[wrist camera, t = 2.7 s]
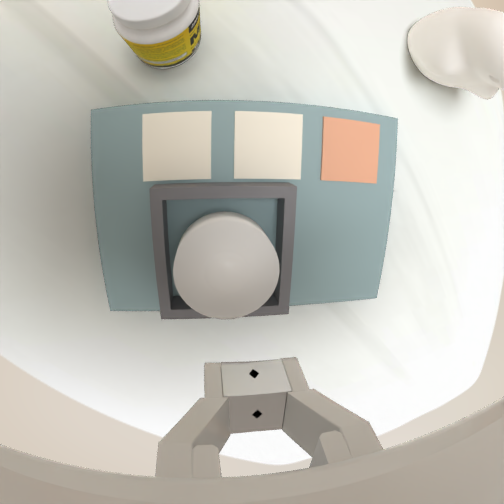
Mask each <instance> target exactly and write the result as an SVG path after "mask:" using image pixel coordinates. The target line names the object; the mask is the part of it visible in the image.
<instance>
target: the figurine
mask: <svg viewBox="0 0 504 504" xmlns="http://www.w3.org/2000/svg"><path fill="white" fill-rule="evenodd" d="M407 44H408V49H409V53H410V56H411V58H412V60H413V62H414V64H415V65H416V67H417V68H418V69H419V70H420V72H421V73H422V74H423V75H424V76H426V77H427V78H428V79H430V80H432V81H434V82H436V83H438V84H441V85H444V86H448V87H454V88H461V89H464V90H467V91H469V92H471V93H473V94H475V95H477V96H478V97H480V98H483V99H487V100H488V99H491V98H492V97H494V95H495V94H496V93H497V91H498V90H499V88H500V89H502V90H504V12H501V11H498V10H493V9H488V8H467V7H452V8H446V9H442V10H439V11H436V12H434V13H431V14H429V15H427V16H425V17H423V18H422V19H420V20H419V21H418V22H416V23H415V24H414V25H413V26H412V28H411V29H410V31H409V33H408V38H407Z"/></svg>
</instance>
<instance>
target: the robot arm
mask: <svg viewBox="0 0 504 504" xmlns="http://www.w3.org/2000/svg"><path fill="white" fill-rule="evenodd" d="M204 391H205V398H200V399H199V400H198V401H197V402H196V403H195V404H194V405H193V406H192V407H191V409H190V410H189V411H188V412H187V413H186V414H185V415H184V416H183V417H182V418H181V419H180V421H179V422H178V423H177V424H176V425H175V426H174V427H173V428H172V429H171V430H170V431H169V432H168V433H167V434H166V436H165V437H164V438H163V439H162V440H161V441H160V442H159V443H158V452H157V463H156V474H155V477H153V476H140V475H131V474H121V473H114V472H107V471H100V470H95V469H89V468H84V467H79V466H74V465H69V464H65V463H61V462H56V461H53V460H48V459H45V458H41V457H38V456H34V455H31V454H28V453H24V452H21V451H18V450H15V449H12V448H9V447H7V446H4V445H1V444H0V504H504V397H502V398H501V399H499V400H497V401H495V402H493V403H492V404H490V405H488V406H486V407H484V408H482V409H481V410H479V411H477V412H475V413H473V414H471V415H469V416H467V417H465V418H462V419H460V420H458V421H456V422H454V423H452V424H449V425H447V426H445V427H443V428H440V429H438V430H436V431H433V432H431V433H428V434H426V435H423V436H421V437H418V438H415V439H413V440H410V441H407V442H404V443H402V444H399V445H396V446H393V447H390V448H387V449H383V448H382V446H381V444H380V442H379V440H378V438H377V436H376V434H375V432H374V431H373V429H372V427H371V425H370V423H369V422H368V421H366V420H365V419H363V418H361V417H359V416H358V415H356V414H354V413H353V412H351V411H349V410H348V409H346V408H344V407H343V406H341V405H339V404H338V403H336V402H334V401H333V400H331V399H329V398H328V397H326V396H325V395H323V394H321V393H320V392H318V391H317V390H315V389H309V387H308V384H307V382H306V379H305V377H304V374H303V372H302V369H301V367H300V364H299V362H298V359H297V358H296V357H291V358H283V359H276V360H264V361H249V362H221V364H220V363H205V365H204ZM277 429H282V430H283V431H284V432H285V433H286V434H287V435H288V436H289V437H290V438H291V439H292V440H294V441H295V442H296V443H297V444H298V445H299V446H300V447H301V448H302V449H304V450H305V451H306V452H307V453H308V454H309V455H310V456H311V457H313V458H312V461H311V464H310V467H309V468H306V469H301V470H293V471H287V472H280V473H272V474H263V475H252V476H240V477H222V476H221V468H220V459H219V453H220V451H221V449H222V448H223V446H224V445H225V443H226V441H227V440H228V438H229V436H230V434H231V433H243V432H253V431H265V430H277Z"/></svg>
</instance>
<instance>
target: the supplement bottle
mask: <svg viewBox="0 0 504 504" xmlns="http://www.w3.org/2000/svg"><path fill="white" fill-rule="evenodd" d="M107 3H108V7H109V9H110V11H111V12H112V17H113V23H114V26H115V29H116V31H117V32H118V33H119V35H120V36H121V37H122V38H123V39H124V40H125V41H126V43H127V44H128V45H129V46H130V48H131V49H132V50H133V51H134V53H135V54H136V55H137V56H138V58H139V59H140V60H141V61H142V62H143V63H145V64H146V65H148V66H151V67H154V68H161V69H162V68H171V67H175V66H178V65H180V64H182V63H184V62H185V61H187V60H188V59H189V58H190V57H191V56H192V55H193V54H194V53H195V52H196V50H197V48H198V46H199V44H200V40H201V28H200V8H199V0H107Z"/></svg>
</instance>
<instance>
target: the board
mask: <svg viewBox="0 0 504 504" xmlns="http://www.w3.org/2000/svg"><path fill="white" fill-rule="evenodd" d="M397 125H398V118H393V117H388V116H383V115H377V114H372V113H366V112H360V111H354V110H347V109H340V108H333V107H325V106H316V105H306V104H295V103H283V102H267V101H241V100H198V101H172V102H156V103H144V104H133V105H124V106H115V107H108V108H100V109H94V110H91V158H92V179H93V194H94V206H95V216H96V225H97V234H98V242H99V249H100V256H101V262H102V269H103V275H104V280H105V286H106V291H107V297H108V302H109V306H110V311H160V313H161V319H197V318H211V317H208V316H205V315H202V314H200V313H198V312H196V311H195V310H194V309H192V308H191V307H190V306H189V305H187V304H186V303H185V301H184V300H183V299H182V298H181V296H180V295H179V293H178V291H177V289H176V286H175V283H174V277H173V266H174V260H175V256H176V252H177V249H178V245H179V242H180V240H181V237H182V236H183V234H184V232H185V231H186V230H187V228H188V227H189V226H190V225H191V224H192V223H194V222H195V221H196V220H198V219H199V218H201V217H203V216H205V215H208V214H211V213H215V212H223V211H226V212H235V213H239V214H242V215H245V216H247V217H249V218H250V219H252V220H253V221H255V222H256V223H257V224H258V225H259V226H260V227H261V228H262V229H263V231H264V232H265V234H266V235H267V237H268V239H269V240H270V242H271V243H272V245H273V247H274V249H275V251H276V253H277V256H278V260H279V278H278V282H277V285H276V288H275V290H274V292H273V293H272V295H271V296H270V298H269V299H268V300H267V301H266V302H265V303H264V304H263V305H262V306H261V307H260V308H259V309H257V310H255V311H254V312H252V313H250V314H248V315H245V316H242V317H247V316H265V315H280V314H288V313H289V306H293V305H306V304H319V303H331V302H342V301H353V300H363V299H373V298H377V293H378V289H379V284H380V278H381V273H382V268H383V262H384V256H385V250H386V244H387V237H388V230H389V223H390V215H391V207H392V198H393V188H394V177H395V164H396V148H397Z"/></svg>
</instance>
